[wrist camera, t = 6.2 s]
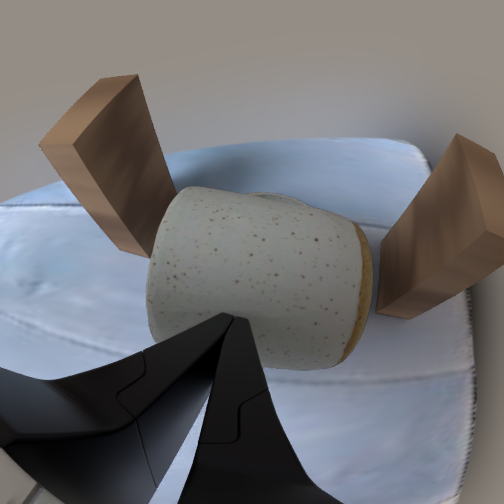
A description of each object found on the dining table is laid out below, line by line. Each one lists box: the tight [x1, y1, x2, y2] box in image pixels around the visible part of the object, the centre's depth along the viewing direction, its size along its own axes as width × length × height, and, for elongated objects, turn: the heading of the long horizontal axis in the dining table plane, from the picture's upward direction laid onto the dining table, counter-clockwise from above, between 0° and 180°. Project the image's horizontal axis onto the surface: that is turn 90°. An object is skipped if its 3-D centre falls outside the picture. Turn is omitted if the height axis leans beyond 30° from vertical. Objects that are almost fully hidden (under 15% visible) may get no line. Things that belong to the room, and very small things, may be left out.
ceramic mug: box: [146, 186, 373, 371], centre depth 13 cm, size 11×8×8 cm
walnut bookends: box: [39, 74, 504, 319], centre depth 13 cm, size 5×20×10 cm, turn 75°
